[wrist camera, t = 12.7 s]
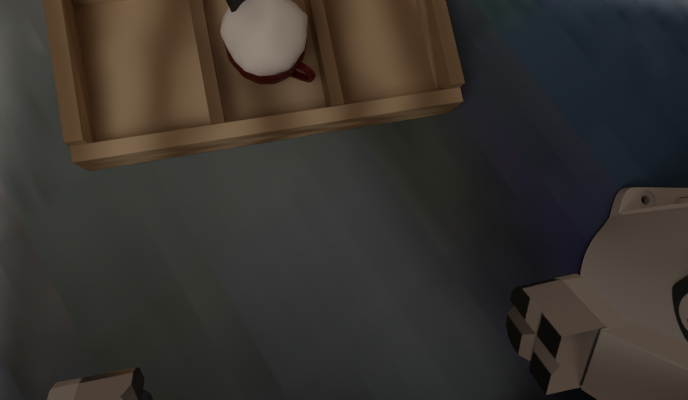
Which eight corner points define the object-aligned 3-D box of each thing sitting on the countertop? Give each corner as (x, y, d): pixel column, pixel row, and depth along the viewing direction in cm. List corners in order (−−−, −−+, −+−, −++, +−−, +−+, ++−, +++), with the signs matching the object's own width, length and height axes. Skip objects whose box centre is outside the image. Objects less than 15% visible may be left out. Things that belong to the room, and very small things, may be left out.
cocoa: (322, 84, 41) (356, 16, 29) (256, 119, 39) (264, 62, 28) (263, -14, 41) (273, -122, 29) (195, 18, 39) (177, -83, 27)
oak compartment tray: (415, -35, 44) (430, -65, 40) (449, 113, 43) (468, 97, 39) (62, 1, 39) (38, -30, 35) (88, 170, 38) (66, 159, 34)
